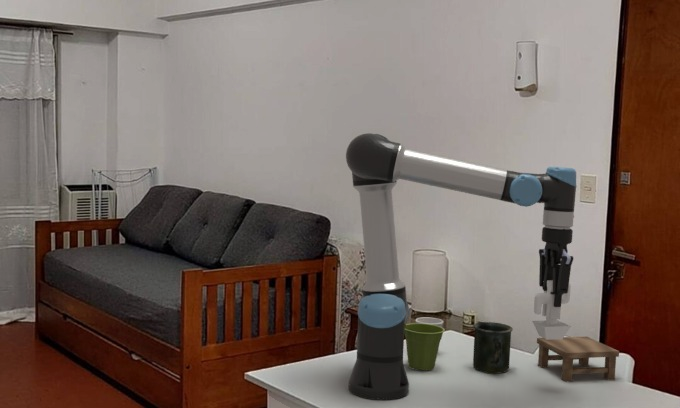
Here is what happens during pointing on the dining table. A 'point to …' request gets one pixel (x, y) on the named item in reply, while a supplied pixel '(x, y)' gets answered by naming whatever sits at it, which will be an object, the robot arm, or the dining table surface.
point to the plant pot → (422, 344)
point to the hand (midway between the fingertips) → (550, 317)
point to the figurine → (549, 326)
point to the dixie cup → (430, 321)
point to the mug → (492, 347)
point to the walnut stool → (577, 355)
